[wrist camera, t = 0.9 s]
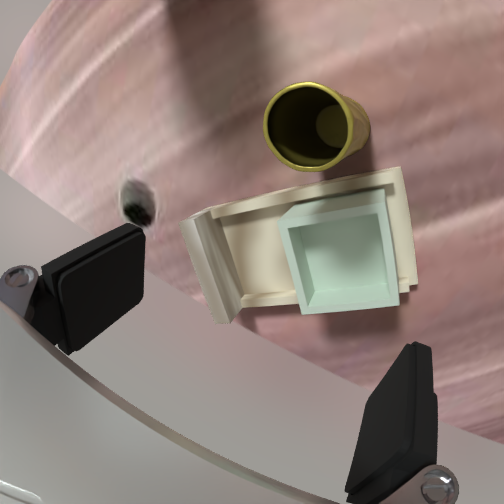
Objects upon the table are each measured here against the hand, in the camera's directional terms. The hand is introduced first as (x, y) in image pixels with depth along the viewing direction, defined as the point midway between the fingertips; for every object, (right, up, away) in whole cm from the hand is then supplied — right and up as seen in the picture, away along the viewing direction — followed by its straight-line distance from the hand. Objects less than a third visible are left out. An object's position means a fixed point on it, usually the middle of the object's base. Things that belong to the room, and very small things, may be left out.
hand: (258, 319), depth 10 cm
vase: (+8, +14, +19) cm, 25 cm away
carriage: (+9, +3, +21) cm, 23 cm away
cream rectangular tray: (+6, +3, +24) cm, 25 cm away
